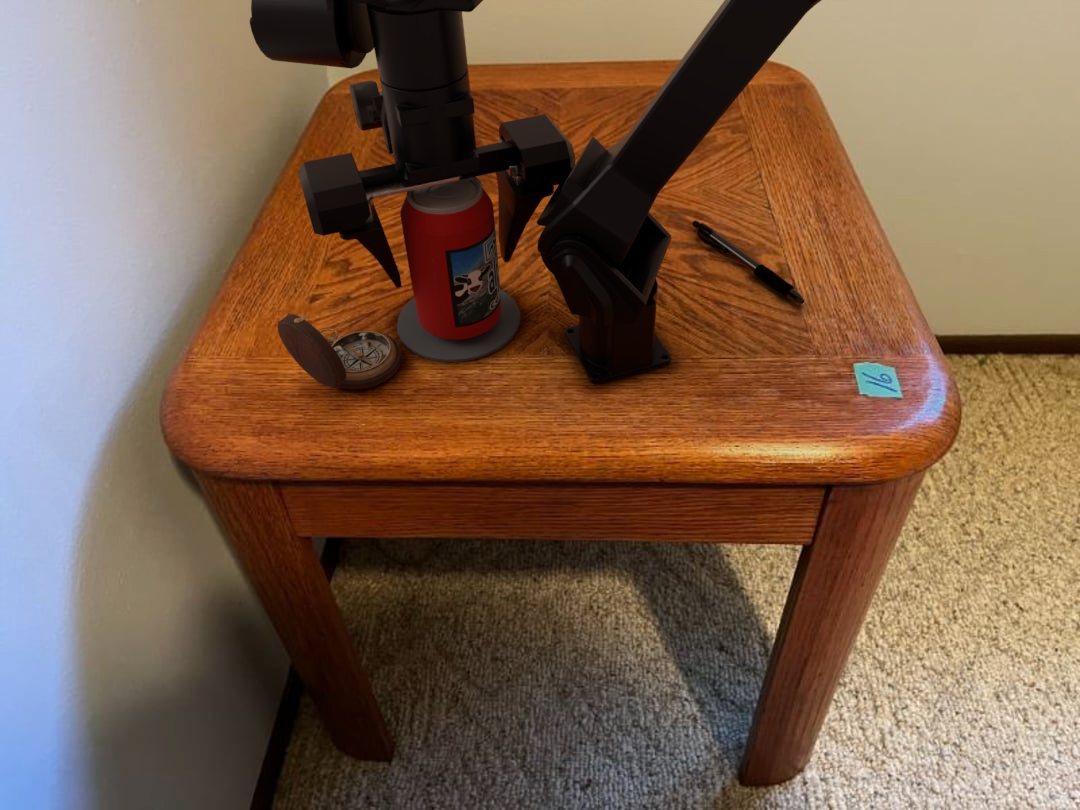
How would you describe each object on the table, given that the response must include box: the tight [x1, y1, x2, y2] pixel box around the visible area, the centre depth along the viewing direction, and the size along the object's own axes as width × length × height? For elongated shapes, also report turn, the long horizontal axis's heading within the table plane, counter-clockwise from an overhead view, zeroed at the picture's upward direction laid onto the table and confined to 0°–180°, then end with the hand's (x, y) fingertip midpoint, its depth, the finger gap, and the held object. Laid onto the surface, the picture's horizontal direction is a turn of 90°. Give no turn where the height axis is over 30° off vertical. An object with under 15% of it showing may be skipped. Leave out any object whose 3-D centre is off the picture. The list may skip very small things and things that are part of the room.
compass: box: [277, 312, 403, 390], centre depth 63 cm, size 8×8×7 cm
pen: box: [691, 219, 805, 305], centre depth 72 cm, size 14×2×1 cm, turn 31°
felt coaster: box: [396, 288, 521, 363], centre depth 69 cm, size 10×10×1 cm
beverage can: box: [399, 176, 501, 340], centre depth 64 cm, size 7×7×12 cm
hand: (452, 271), depth 66 cm, fingers open, 8 cm apart
